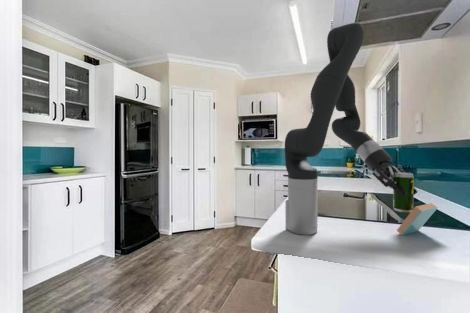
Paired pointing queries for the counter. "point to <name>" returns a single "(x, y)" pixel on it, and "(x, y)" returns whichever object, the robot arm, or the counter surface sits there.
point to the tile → (416, 218)
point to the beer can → (408, 185)
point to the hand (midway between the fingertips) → (409, 194)
